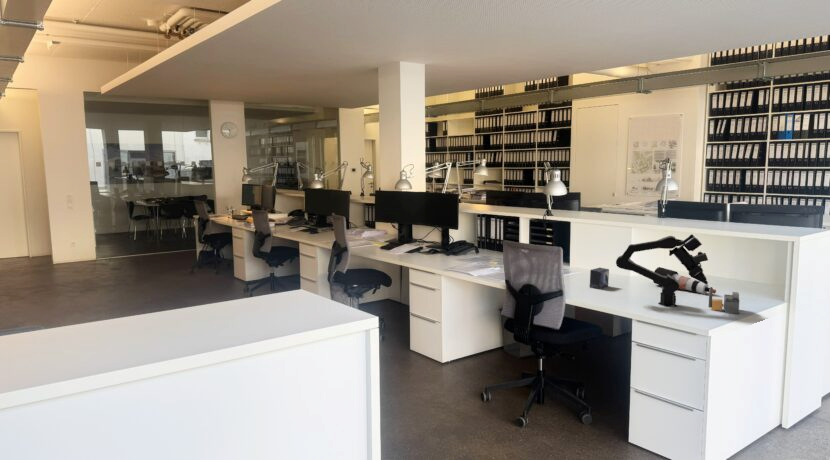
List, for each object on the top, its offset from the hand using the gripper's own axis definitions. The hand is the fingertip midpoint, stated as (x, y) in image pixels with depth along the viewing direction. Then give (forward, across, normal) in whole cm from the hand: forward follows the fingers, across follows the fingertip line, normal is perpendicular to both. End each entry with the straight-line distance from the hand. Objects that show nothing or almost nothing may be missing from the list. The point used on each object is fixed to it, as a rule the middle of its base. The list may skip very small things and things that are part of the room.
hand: (706, 281), depth 276 cm
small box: (-25, +29, +49) cm, 62 cm away
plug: (+13, -1, +5) cm, 14 cm away
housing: (+17, -1, +1) cm, 17 cm away
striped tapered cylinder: (+5, +38, +15) cm, 42 cm away
